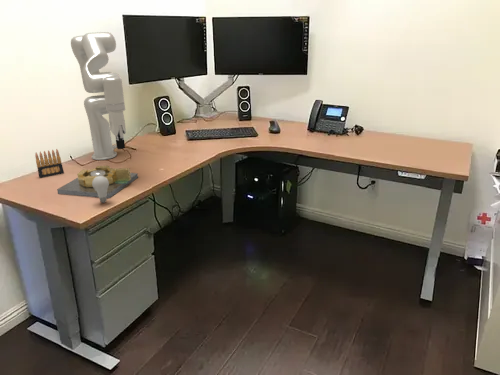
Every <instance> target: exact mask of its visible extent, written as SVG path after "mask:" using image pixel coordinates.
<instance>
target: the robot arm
mask: <svg viewBox="0 0 500 375" xmlns="http://www.w3.org/2000/svg"><path fill="white" fill-rule="evenodd" d="M70 46H71V50H72V53H73V55H74V57H75V58H76V61H77V63H78V65H79V69H80V74H81V79H82V85H83V90H84V91H86V93H88V94H97V93H98V95H91V96H88V97H86V98H85V99H84V100H83V106H84V110H85V112H86V115H87V120H88V126H89V131H90V137H91V141H92V148H93V154H92V155H91V159H92V160H97V161H106V160H110V159H113V158H116V157H117V155H118V153H117V151H114V150H116V149H117V150H122V149H126V144H125V136H124V135H126V133H127V129H126V123H125V114H124V111H125V110H126V106H125V105H126V104H125V96H124V89H123V80H122V77H121V76H120V75H119V74H118V73H116V72H111V71H104V72H103V71H100V69H103V68H104V67H105V66H107V65H108V63H109V55H108V54H111V53H113V52H115V51H116V48H117V42H116V38H115V37H114V35H113V34H112V33H111V32H108V31H107V32H106V31H100V32H99V31H97V32H88V33H85V34H83V35H76V36H73V37H72V38H71V39H70ZM99 93H103V94H99ZM104 115H108V119H106V118H105V117H104ZM111 133H112V134H111ZM112 135H114V137H115V144H113V143H112V142H113V141H112Z"/></svg>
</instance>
